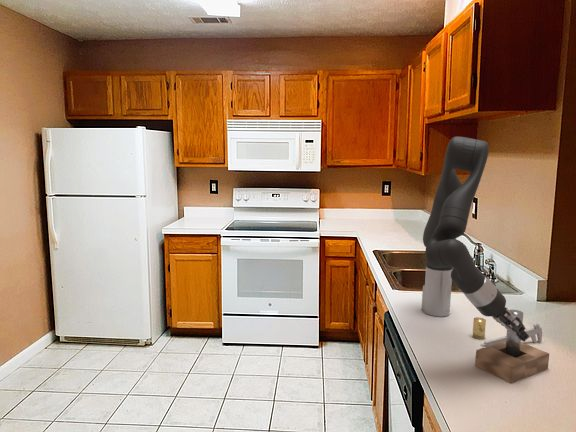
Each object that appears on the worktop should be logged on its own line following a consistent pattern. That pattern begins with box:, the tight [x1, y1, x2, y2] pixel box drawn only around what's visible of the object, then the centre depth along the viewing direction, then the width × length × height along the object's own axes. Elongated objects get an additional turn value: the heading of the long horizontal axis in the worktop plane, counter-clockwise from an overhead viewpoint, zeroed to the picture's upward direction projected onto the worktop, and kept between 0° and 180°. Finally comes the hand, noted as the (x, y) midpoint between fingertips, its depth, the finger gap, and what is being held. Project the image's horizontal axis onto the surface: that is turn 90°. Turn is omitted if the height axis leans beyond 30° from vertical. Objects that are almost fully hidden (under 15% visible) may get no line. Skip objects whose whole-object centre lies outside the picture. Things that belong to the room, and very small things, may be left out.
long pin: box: [505, 309, 524, 358], centre depth 119 cm, size 4×4×13 cm
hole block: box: [474, 341, 550, 384], centre depth 121 cm, size 11×16×4 cm
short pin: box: [471, 316, 487, 340], centre depth 140 cm, size 4×4×6 cm
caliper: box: [480, 323, 543, 348], centre depth 135 cm, size 20×1×6 cm, turn 99°
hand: (520, 335), depth 120 cm, fingers closed on long pin, 3 cm apart
